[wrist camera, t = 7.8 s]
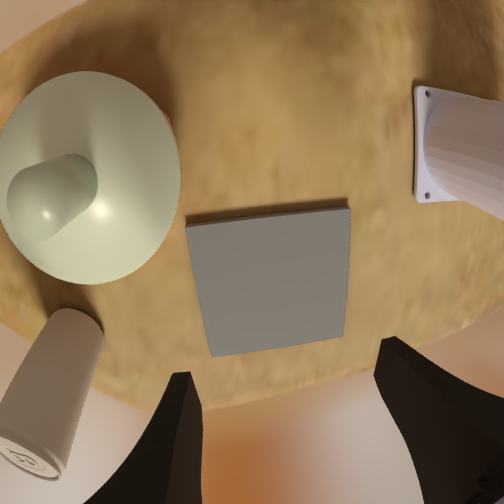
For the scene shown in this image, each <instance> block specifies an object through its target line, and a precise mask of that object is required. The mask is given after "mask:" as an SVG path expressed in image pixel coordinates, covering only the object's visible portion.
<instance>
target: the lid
mask: <svg viewBox="0 0 504 504" xmlns="http://www.w3.org/2000/svg"><path fill="white" fill-rule="evenodd" d="M181 188H182V166H181V157H180V152H179V148H178V143H177V141H176V138H175V135H174V132H173V130H172V128H171V126H170V124H169V122H168V120H167V118H166V116H165V115H164V114H163V112H162V111H161V109H160V108H159V107H158V105H157V104H156V103H155V102H154V101H153V100H152V99H151V98H150V97H149V96H148V95H147V94H146V93H145V92H143V91H142V90H141V89H139V88H138V87H137V86H135V85H133V84H131V83H129V82H127V81H126V80H123V79H121V78H118V77H115V76H112V75H109V74H106V73H100V72H94V71H79V72H73V73H67V74H64V75H61V76H58V77H55V78H53V79H51V80H49V81H47V82H45V83H43V84H41V85H40V86H38V87H37V88H36V89H34V90H33V91H32V92H30V93H29V94H28V95H27V96H26V97H25V98H24V99H23V100H22V101H21V102H20V103H19V105H18V106H17V107H16V108H15V109H14V111H13V112H12V114H11V115H10V117H9V119H8V120H7V122H6V124H5V126H4V128H3V130H2V132H1V135H0V219H1V221H2V224H3V226H4V228H5V230H6V232H7V234H8V235H9V237H10V239H11V240H12V242H13V243H14V245H15V246H16V247H17V249H18V250H19V251H20V252H21V253H22V254H23V255H24V256H25V257H26V258H27V259H28V260H29V261H30V262H31V263H32V264H34V265H35V266H36V267H38V268H39V269H41V270H42V271H44V272H45V273H47V274H49V275H51V276H53V277H55V278H58V279H61V280H64V281H67V282H72V283H77V284H101V283H106V282H111V281H114V280H117V279H119V278H122V277H124V276H126V275H128V274H130V273H132V272H134V271H135V270H136V269H138V268H139V267H140V266H142V265H143V264H144V263H145V262H146V261H147V260H148V259H149V258H150V257H151V256H153V254H154V253H155V252H156V250H157V249H158V248H159V247H160V245H161V244H162V242H163V240H164V239H165V237H166V235H167V234H168V231H169V229H170V227H171V224H172V222H173V220H174V217H175V215H176V211H177V208H178V204H179V201H180V194H181Z"/></svg>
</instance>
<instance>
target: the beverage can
mask: <svg viewBox="0 0 504 504" xmlns="http://www.w3.org/2000/svg"><path fill="white" fill-rule="evenodd" d="M104 345H105V339H104V335H103V333H102V331H101V329H100V327H99V325H98V324H97V323H96V321H95V320H94V319H93V318H91V317H90V316H89V315H87V314H85V313H83V312H81V311H79V310H76V309H70V308H64V309H59V310H57V311H55V312H54V313H53V314H52V315H51V317H50V318H49V320H48V321H47V323H46V324H45V326H44V327H43V329H42V331H41V332H40V334H39V335H38V337H37V339H36V340H35V342H34V343H33V345H32V347H31V349H30V350H29V352H28V353H27V355H26V357H25V359H24V360H23V362H22V364H21V365H20V367H19V369H18V371H17V372H16V374H15V376H14V378H13V380H12V382H11V383H10V386H9V387H8V389H7V391H6V393H5V395H4V397H3V399H2V401H1V403H0V456H1V457H2V458H3V459H5V460H6V461H7V462H9V463H10V464H12V465H13V466H15V467H16V468H18V469H20V470H22V471H23V472H25V473H27V474H29V475H32V476H34V477H36V478H40V479H42V480H47V481H59V480H60V479H61V473H63V472H64V471H65V469H66V466H67V462H68V458H69V454H70V450H71V447H72V443H73V440H74V436H75V432H76V429H77V426H78V422H79V419H80V416H81V413H82V409H83V406H84V403H85V400H86V397H87V394H88V391H89V388H90V385H91V382H92V379H93V377H94V374H95V371H96V368H97V365H98V363H99V360H100V357H101V355H102V352H103V349H104Z"/></svg>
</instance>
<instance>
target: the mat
mask: <svg viewBox="0 0 504 504" xmlns="http://www.w3.org/2000/svg"><path fill="white" fill-rule="evenodd" d="M185 230H186V236H187V241H188V247H189V252H190V258H191V263H192V269H193V274H194V279H195V284H196V289H197V294H198V299H199V304H200V309H201V313H202V318H203V323H204V327H205V332H206V336H207V341H208V345H209V349H210V354H211V357H216V356H225V355H233V354H241V353H249V352H256V351H263V350H270V349H276V348H283V347H289V346H295V345H300V344H306V343H312V342H317V341H322V340H327V339H333V338H337V337H342V336H343V332H344V323H345V313H346V301H347V289H348V275H349V258H350V236H351V208H350V207H348V206H342V207H332V208H321V209H311V210H301V211H292V212H282V213H273V214H264V215H256V216H247V217H239V218H231V219H223V220H215V221H207V222H199V223H192V224H186V226H185Z"/></svg>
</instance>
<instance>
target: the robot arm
mask: <svg viewBox="0 0 504 504" xmlns="http://www.w3.org/2000/svg"><path fill="white" fill-rule="evenodd" d="M426 91H427V93H428V96H426V94H425V92H426ZM414 105H415V181H414V199H415V200H416V201H418V202H420V203H424V202H439V201H454V200H463V201H465V202H467V203H469V204H471V205H473V206H476V207H478V208H480V209H482V210H484V211H486V212H488V213H490V214H492V215H494V216H496V217H498V218H500V219H501V220H503V221H504V101H498V100H487V99H483V98H479V97H475V96H471V95H467V94H463V93H458V92H453V91H449V90H443V89H438V88H433V87H427V86H416V87H415V89H414ZM426 192H427V196H426V197H425V193H426ZM374 378H375V381H376V384H377V387H378V389H379V392H380V394H381V397H382V398H383V400H384V402H385V404H386V406H387V408H388V410H389V412H390V413H391V415H392V417H393V419H394V421H395V423H396V425H397V426H398V428H399V430H400V432H401V434H402V436H403V438H404V440H405V442H406V444H407V447H408V449H409V452H410V455H411V458H412V460H413V463H414V466H415V469H416V473H417V476H418V479H419V483H420V487H421V491H422V495H423V500H424V504H504V398H502V397H499V396H496V395H493V394H490V393H488V392H486V391H483V390H481V389H479V388H476V387H474V386H472V385H470V384H468V383H466V382H464V381H462V380H460V379H459V378H457V377H455V376H454V375H452V374H450V373H449V372H447V371H445V370H444V369H442V368H440V367H439V366H438V365H436V364H434V363H433V362H431V361H430V360H428V359H427V358H426V357H424V356H423V355H421V354H420V353H418V352H417V351H416V350H414V349H413V348H412V347H410V346H409V345H407V344H406V343H405V342H403V341H402V340H400V339H399V338H397V337H396V336H393V337H390V338H386V339H382V340H381V345H380V350H379V354H378V358H377V363H376V367H375V371H374ZM202 437H203V423H202V407H201V403H200V400H199V397H198V394H197V391H196V388H195V385H194V382H193V379H192V376H191V372H178V373H173V374H172V375H171V378H170V380H169V383H168V385H167V388H166V390H165V392H164V394H163V396H162V399H161V401H160V403H159V405H158V407H157V409H156V411H155V413H154V415H153V417H152V418H151V420H150V422H149V424H148V426H147V427H146V429H145V431H144V432H143V435H142V436H141V437H140V439H139V441H138V442H137V444H136V445H135V447H134V448H133V450H132V451H131V453H130V454H129V455H128V457H127V458H126V459H125V461H124V462H123V463H122V464H121V466H120V467H119V468H118V469H117V470H116V472H115V473H114V474H113V475H112V476H111V477H110V479H109V480H108V481H107V482H106V483H105V484H104V485H103V486H102V487H101V488H100V489H99V490H98V491H97V492H96V493H95V494H94V495H93V496H91V497H90V498H89V499H88V500H87V501H86V502H85V503H83V504H202V495H201V461H202V459H201V458H202V439H203V438H202Z"/></svg>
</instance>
